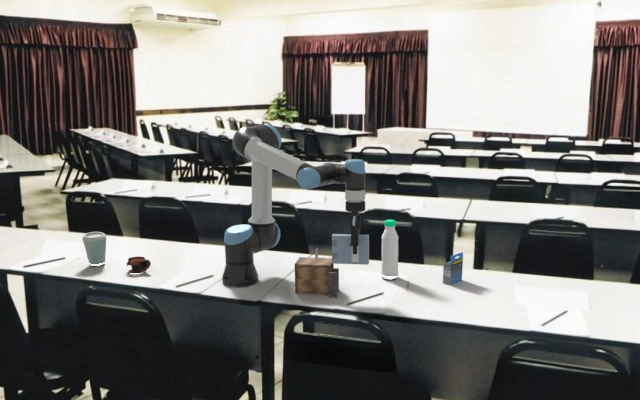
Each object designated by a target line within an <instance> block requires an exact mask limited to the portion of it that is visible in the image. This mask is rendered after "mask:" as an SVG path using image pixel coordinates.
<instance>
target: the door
mask: <svg viewBox="0 0 640 400" xmlns="http://www.w3.org/2000/svg"><path fill="white" fill-rule="evenodd" d="M350 244H351V233H350V234H347V233H332V235H331V258H332V264H334V265H335V264H337V265H340V264H341V265H367V266H368V265H369V264H370V235H369V234H360V235H358V245H359V262H352V248H351V246H350Z"/></svg>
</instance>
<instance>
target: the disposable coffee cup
mask: <svg viewBox="0 0 640 400" xmlns="http://www.w3.org/2000/svg"><path fill="white" fill-rule="evenodd" d="M82 242H83V246H84V249H85V253H86V256H87V260H88V263H91V264H99V263H103V262H106V251H107V250H106V249H107V235H106V233H104V232H101V231H91V232H86V233H84V234H83V236H82Z"/></svg>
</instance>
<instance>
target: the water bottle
mask: <svg viewBox="0 0 640 400" xmlns="http://www.w3.org/2000/svg"><path fill="white" fill-rule="evenodd" d="M396 223H397V221H396V220H395V219H386V220H384V221H383V224H384V231H383V233H382V235H381V272H380V273H381V274H383V275H385V276H398V277H399V234H398V233H397V230H396V229H395V228H396V226H397V224H396ZM381 274H380V275H381Z"/></svg>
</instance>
